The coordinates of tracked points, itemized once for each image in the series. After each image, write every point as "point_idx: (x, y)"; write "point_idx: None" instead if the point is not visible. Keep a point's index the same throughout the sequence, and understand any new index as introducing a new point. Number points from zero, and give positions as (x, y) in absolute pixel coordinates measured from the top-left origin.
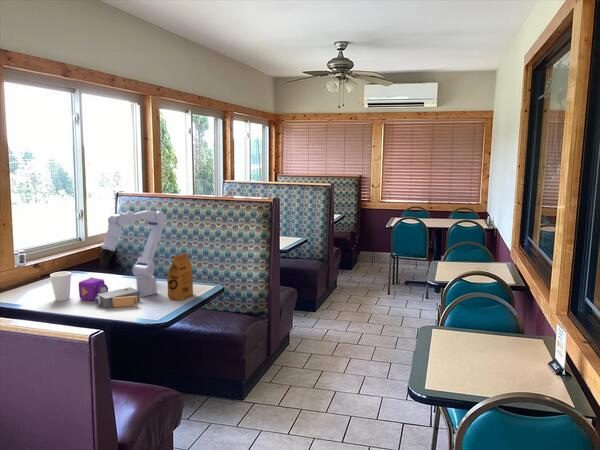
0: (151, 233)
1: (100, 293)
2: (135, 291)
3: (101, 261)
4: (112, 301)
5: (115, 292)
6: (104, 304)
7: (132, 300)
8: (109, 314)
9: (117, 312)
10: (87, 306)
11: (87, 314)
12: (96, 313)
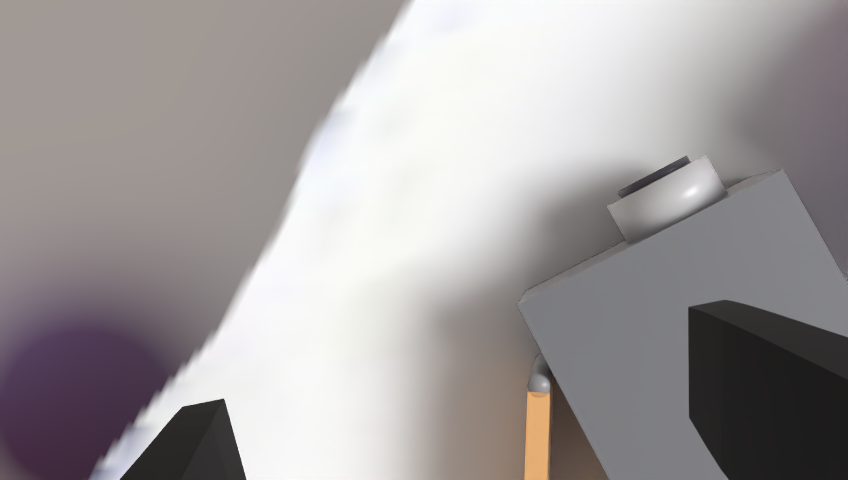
0: None
1: (806, 215)
2: None
3: (784, 377)
4: (532, 372)
5: None
6: (566, 272)
7: None
8: (323, 331)
9: (364, 406)
10: (687, 69)
11: (386, 113)
12: (393, 200)
